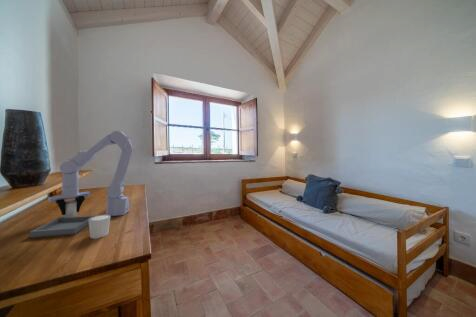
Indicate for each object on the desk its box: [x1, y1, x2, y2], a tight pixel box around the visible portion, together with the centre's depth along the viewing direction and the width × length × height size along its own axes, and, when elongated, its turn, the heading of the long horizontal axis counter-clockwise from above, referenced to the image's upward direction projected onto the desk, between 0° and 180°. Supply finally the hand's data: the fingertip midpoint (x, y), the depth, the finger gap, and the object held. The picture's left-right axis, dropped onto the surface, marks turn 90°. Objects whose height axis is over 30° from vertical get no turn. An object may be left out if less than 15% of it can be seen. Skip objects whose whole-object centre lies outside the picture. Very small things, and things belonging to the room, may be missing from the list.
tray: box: [29, 215, 96, 239], centre depth 71 cm, size 14×14×2 cm
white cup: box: [88, 214, 111, 239], centre depth 66 cm, size 7×7×7 cm
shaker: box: [63, 199, 78, 217], centre depth 82 cm, size 5×5×8 cm
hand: (70, 213), depth 82 cm, fingers closed on shaker, 4 cm apart
